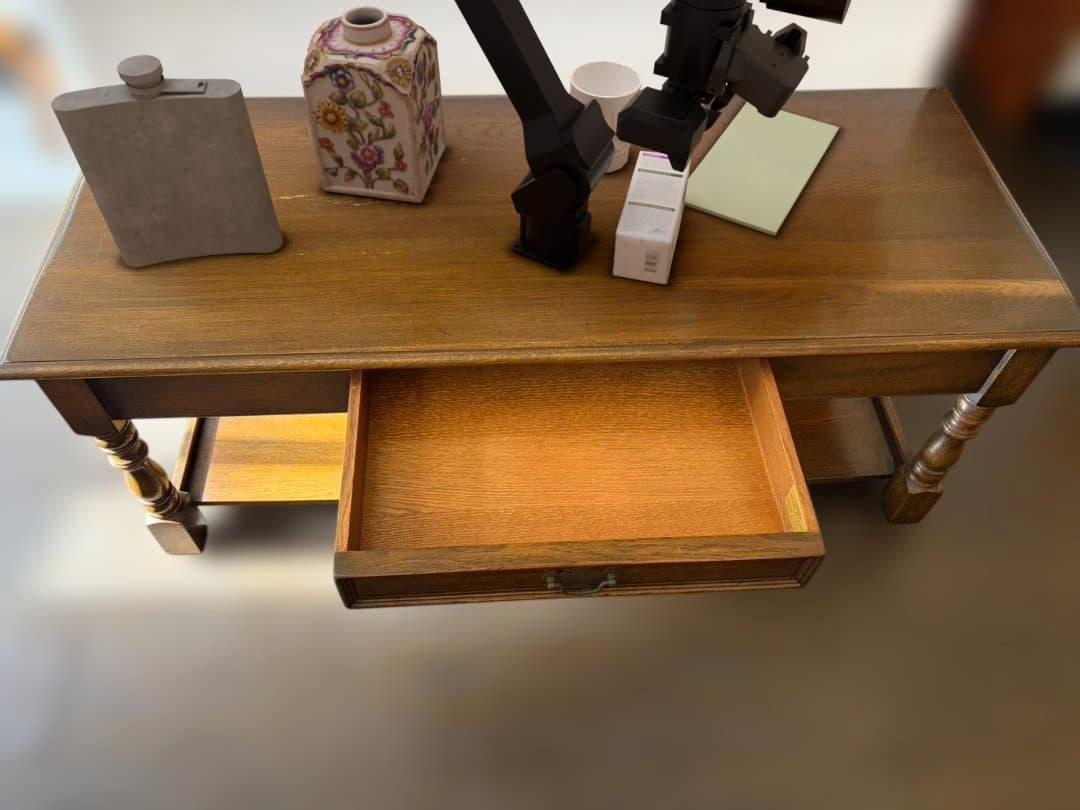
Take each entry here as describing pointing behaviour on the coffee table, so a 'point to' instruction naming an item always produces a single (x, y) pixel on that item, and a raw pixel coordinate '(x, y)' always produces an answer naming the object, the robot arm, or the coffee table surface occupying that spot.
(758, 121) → the paper notepad
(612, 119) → the white cup
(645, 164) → the syrup box
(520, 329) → the coffee table surface
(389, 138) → the decorative jar
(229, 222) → the hip flask
